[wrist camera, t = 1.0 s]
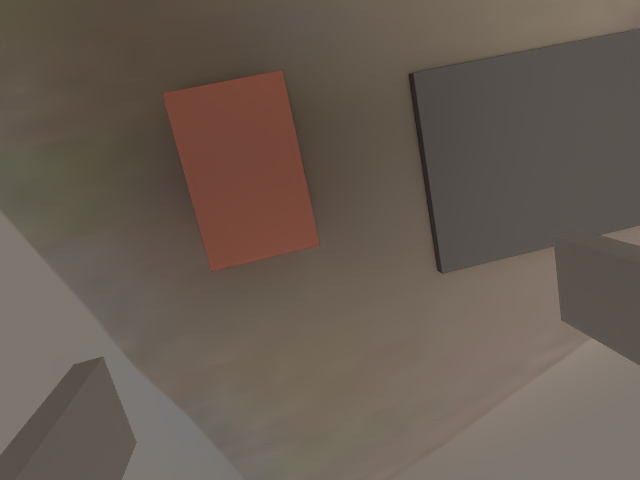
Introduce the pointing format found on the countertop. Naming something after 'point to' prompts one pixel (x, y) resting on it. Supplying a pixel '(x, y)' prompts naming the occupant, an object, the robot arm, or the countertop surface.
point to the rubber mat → (530, 147)
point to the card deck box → (243, 168)
